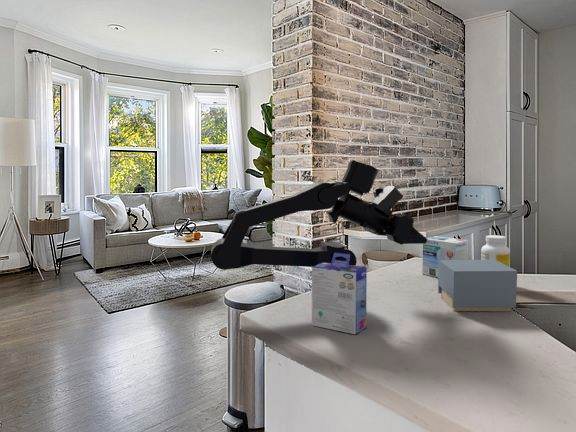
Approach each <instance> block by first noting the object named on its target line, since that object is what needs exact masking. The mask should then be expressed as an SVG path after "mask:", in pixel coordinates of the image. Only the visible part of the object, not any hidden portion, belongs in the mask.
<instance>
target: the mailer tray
mask: <svg viewBox="0 0 576 432" xmlns="http://www.w3.org/2000/svg"><path fill="white" fill-rule="evenodd" d="M440 294H441V295H440V298H441V299H442V300H443V302H444V303H445V304H447V305H448V307H450V308H451V309H452V310H453V312H475V311H476V312H511V311H512V308H453V307H452V299H453V298H452V297H451V296H450V295H449V294H448V293H447V292H445V291H444V290H443V289H442V288H441V293H440Z"/></svg>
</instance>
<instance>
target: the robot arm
mask: <svg viewBox="0 0 576 432" xmlns="http://www.w3.org/2000/svg"><path fill="white" fill-rule="evenodd" d="M378 173H379V169H377V168H376V167H374V166H372V165H371V164H366V163H362V162H360V161H357V160H355V159H351V160H349V162H348V165H347V169H346V172H345V173H344V175H343V177H342V180H341V181H335V182H332V183H330V182H321V181H316V182H314V183H312V184H310V185H308V186H305V187H303V188H302V189H300V190H299V191H297V192H295V193H293V194H292V195H288V196H285V197H282V198H279V199H275V200H272V201H268V202H266V203H262V204H259V205H255V206H251V207H249V208H245V209H239V210H237V211H235V213H234V214H233V218H232V219H231V221H230V223H229V225H228V227H226V229H225V230H224V233H223V235H222V236H221V238H219V239H217V240H215V242H214V243H213V244H212V246H211V250H210V251H211V252H210V259H211V260H210V261H211V262H212V264H213V265H214V266H215V267H216V268H217V269H219V270H223V271H227V270H235V269H241V268H245V267H248V266H251V265H259V266H260V265H261V266H285V267H306V268H307V267H309V268H312V267H313V266H316V265H318V264H321V263H331V262H332V258H333V255H334V253H343V254H350V261H349V265H354V266H357V263H358V261H357V257H356V254H355V253H354V252H353V251H352V250H350V249H349V248H347V247H346V246H345V245H343V244H342V243H340V242H338V241H333V242H328V241H324V240H320V246H318V247H314V248H306V247H305V248H304V247H290V246H289V247H288V246H287V247H285V246H283V247H282V246H269V245H268V246H265V245H252V244H249V243H247V242H244V239H245V238H246V234H247V233H248V231H249V228H251V227H254V226H256V225H259V224H263V223H266V222H270V221H273V220H276V219H280V218H284V217H287V216H289V215H292V214H295V213H298V212H299V213H300V212H307V211H308V212H309V211H310V212H312V211H320V210H327V211H326V212H325V213H326V214H327V216H328V220H329V222H331V223H333V224H337V222H338V220H339V218H342V219H344V220H346V221H347V222H351V223H352V224H355V225H357V226H358V227H361V228H363V229H364V231H367V232H368V233H371V234H374V235H377V236H381V237H386V238H387V239H388V240H389V241H391V242H394V243H396V244H398V245H408V244H409V245H411V244H413V245H414V244H415V245H417V244H419V245H421V244H422V245H423V244H425V243H426V242H427V238H428V237H426V236H424V235H423V234H422V233H421V232H419V231H418V230H417V229H416V228H415V227H414V224H415V223H414V217H412V216H409V215H408V214H405V213H399V212H398V213H397V214H394V215H393V212H394V211H393V210H392V209H393V208H394V206H395V205H396V204H398V202H399V201H401V200H402V199H403V197H404V195H403V194H402V193H401V192H400V190H399V189H398V188H397V187H396V186H394V185H387V186H384V187H383V188H381V187H376V188H375V189H373V192H372V194H373V196H374V197H373V200H372V202H371V201H368V200H367V201H366V200H364V199H362V198H360V197H363V196H364V194H365V195H368V194H369V193H370V191H371V190H372V187H373V185H374V183H375V180H376V179H377V176H378ZM351 193H353V194H355V195H353V194H351ZM356 195H358V196H360V197H358V196H356ZM328 209H330V210H328ZM392 215H393V217H391V216H392ZM335 260H340V261H346V260H347V259H346V258H344V257H336V258H335Z"/></svg>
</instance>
